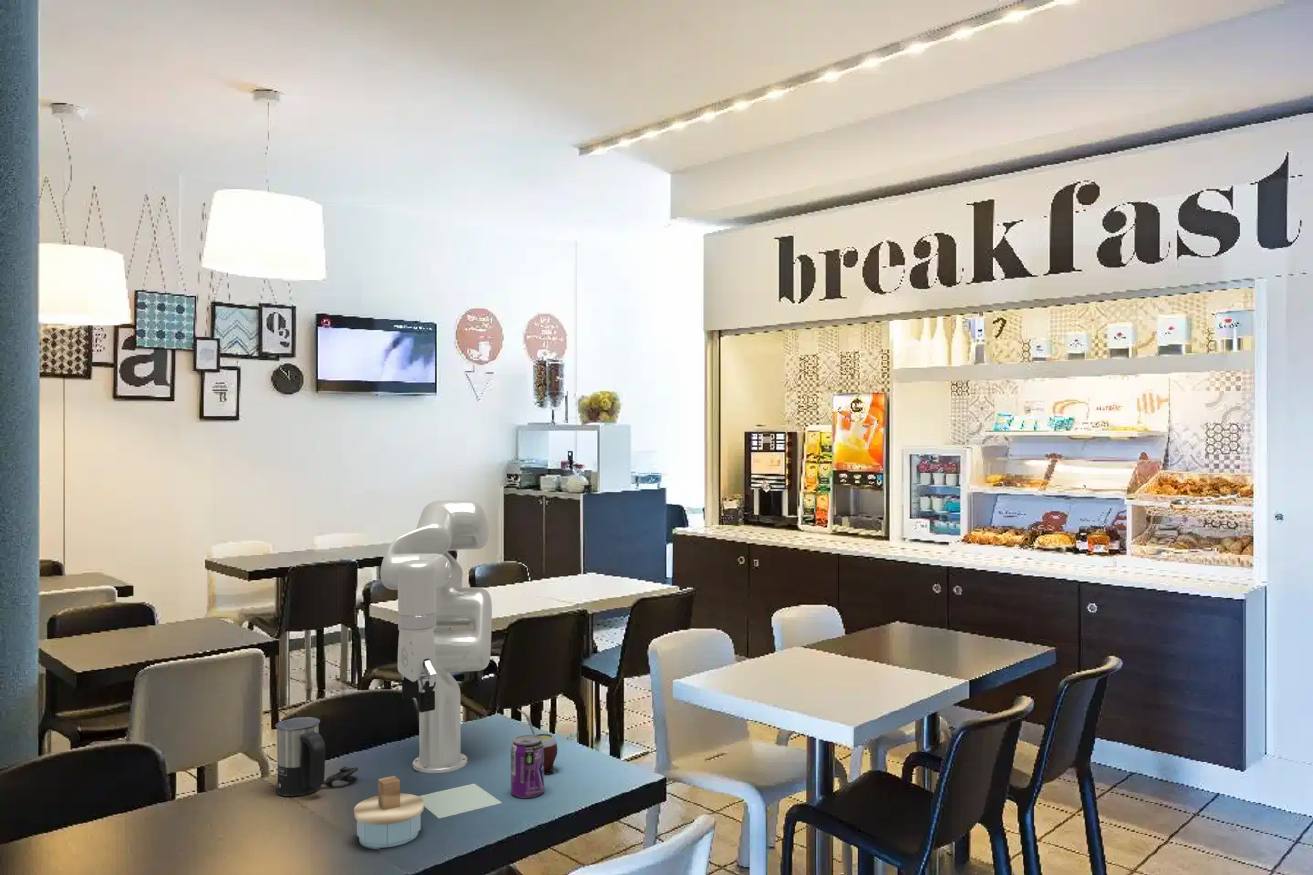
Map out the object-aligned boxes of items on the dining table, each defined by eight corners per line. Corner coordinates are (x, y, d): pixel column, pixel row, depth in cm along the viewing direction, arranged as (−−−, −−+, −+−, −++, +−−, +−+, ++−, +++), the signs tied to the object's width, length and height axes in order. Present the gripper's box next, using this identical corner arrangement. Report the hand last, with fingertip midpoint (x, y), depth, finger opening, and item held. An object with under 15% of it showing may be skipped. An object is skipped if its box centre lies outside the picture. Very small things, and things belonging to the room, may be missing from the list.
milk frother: (265, 793, 205) (265, 725, 205) (317, 770, 220) (317, 706, 220) (317, 803, 200) (317, 733, 200) (366, 778, 214) (366, 713, 214)
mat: (413, 799, 201) (413, 797, 201) (474, 785, 209) (474, 783, 209) (439, 820, 190) (439, 818, 190) (502, 804, 198) (502, 802, 198)
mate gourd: (563, 769, 219) (563, 705, 219) (541, 779, 213) (541, 713, 213) (538, 763, 223) (538, 700, 223) (516, 773, 217) (516, 708, 217)
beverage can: (537, 801, 199) (537, 745, 200) (506, 799, 201) (505, 743, 201) (548, 789, 206) (548, 734, 207) (517, 787, 208) (517, 733, 208)
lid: (345, 807, 184) (345, 777, 184) (409, 793, 191) (409, 763, 191) (366, 830, 173) (366, 797, 173) (433, 813, 180) (433, 782, 180)
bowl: (351, 834, 183) (351, 808, 183) (406, 820, 190) (406, 796, 190) (370, 854, 174) (370, 827, 174) (427, 839, 181) (426, 813, 181)
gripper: (385, 615, 196) (386, 696, 197) (414, 632, 182) (415, 719, 183) (420, 611, 200) (421, 690, 201) (451, 627, 186) (452, 712, 187)
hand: (418, 704), depth 192 cm, fingers open, 9 cm apart
